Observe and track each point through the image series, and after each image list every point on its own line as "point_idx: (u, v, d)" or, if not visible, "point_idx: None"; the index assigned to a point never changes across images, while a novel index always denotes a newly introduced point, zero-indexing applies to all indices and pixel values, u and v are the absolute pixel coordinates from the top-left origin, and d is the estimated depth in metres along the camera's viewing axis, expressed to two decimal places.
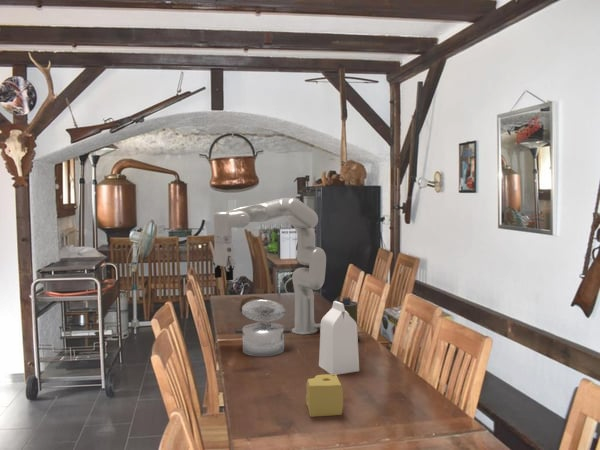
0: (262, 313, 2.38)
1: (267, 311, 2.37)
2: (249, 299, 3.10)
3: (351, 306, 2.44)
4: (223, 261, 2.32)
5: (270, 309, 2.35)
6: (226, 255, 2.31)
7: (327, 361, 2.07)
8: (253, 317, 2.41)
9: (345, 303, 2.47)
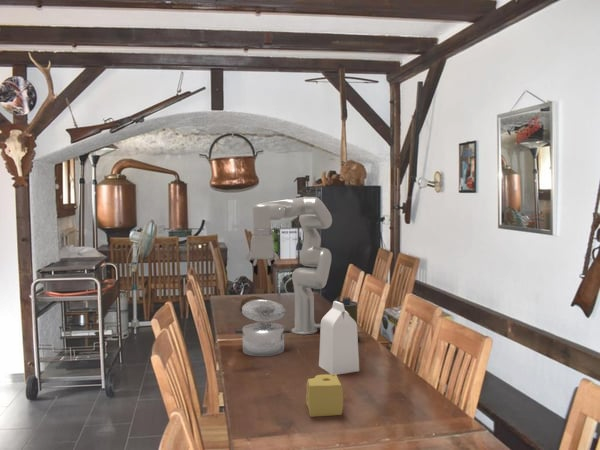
0: (262, 313, 2.38)
1: (267, 311, 2.37)
2: (249, 299, 3.10)
3: (351, 306, 2.44)
4: (270, 253, 2.32)
5: (270, 309, 2.35)
6: (273, 247, 2.32)
7: (327, 361, 2.07)
8: (253, 317, 2.41)
9: (345, 303, 2.47)
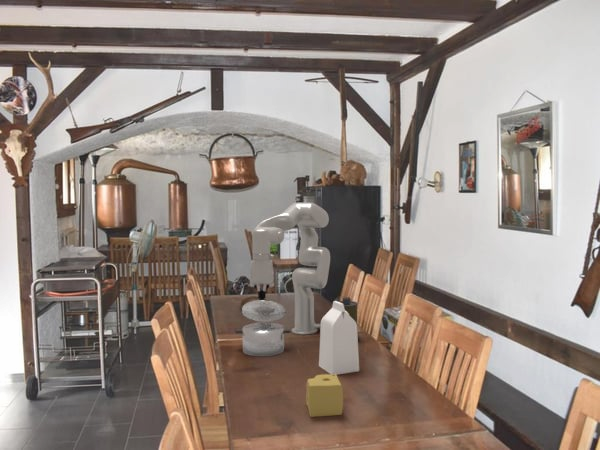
0: (262, 313, 2.38)
1: (267, 312, 2.37)
2: (249, 299, 3.10)
3: (351, 306, 2.44)
4: (269, 278, 2.29)
5: (270, 309, 2.35)
6: (272, 272, 2.29)
7: (327, 361, 2.07)
8: (253, 317, 2.41)
9: (345, 303, 2.47)
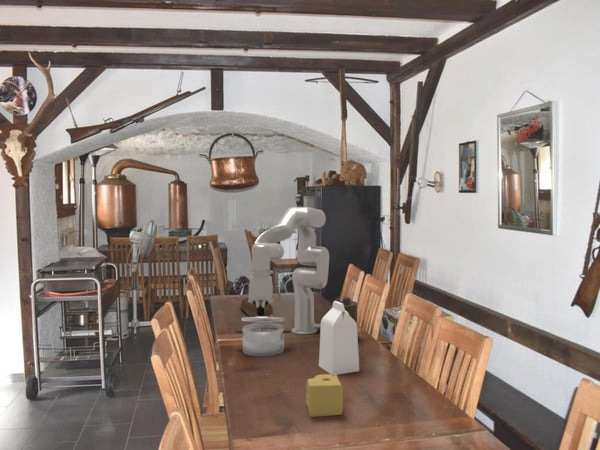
0: (262, 320, 2.37)
1: (267, 320, 2.35)
2: None
3: (351, 306, 2.44)
4: (268, 295, 2.27)
5: None
6: (271, 288, 2.27)
7: (327, 361, 2.07)
8: None
9: (345, 303, 2.47)
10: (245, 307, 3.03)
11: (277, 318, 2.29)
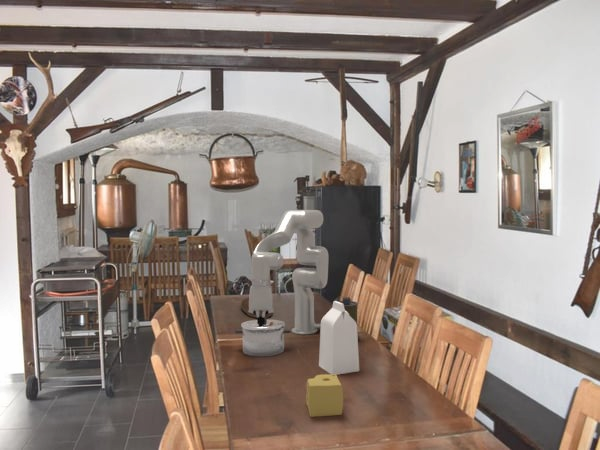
0: None
1: None
2: None
3: (351, 306, 2.44)
4: (269, 305, 2.27)
5: None
6: (272, 298, 2.27)
7: (327, 361, 2.07)
8: None
9: (345, 303, 2.47)
10: (245, 307, 3.03)
11: (277, 327, 2.28)
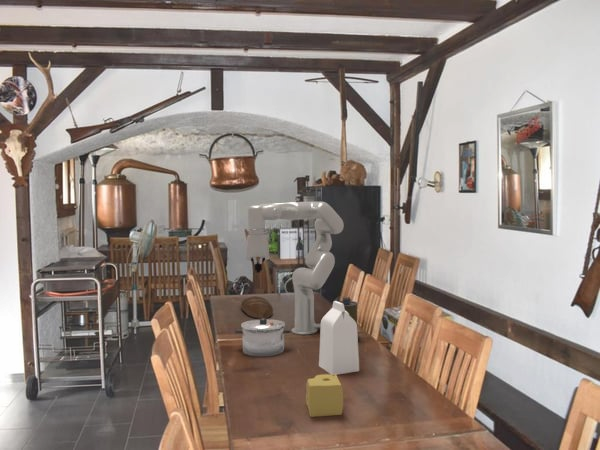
0: None
1: None
2: (249, 299, 3.10)
3: (351, 306, 2.44)
4: (265, 252, 2.44)
5: None
6: (268, 246, 2.45)
7: (327, 361, 2.07)
8: None
9: (345, 303, 2.47)
10: (245, 307, 3.03)
11: (277, 328, 2.28)
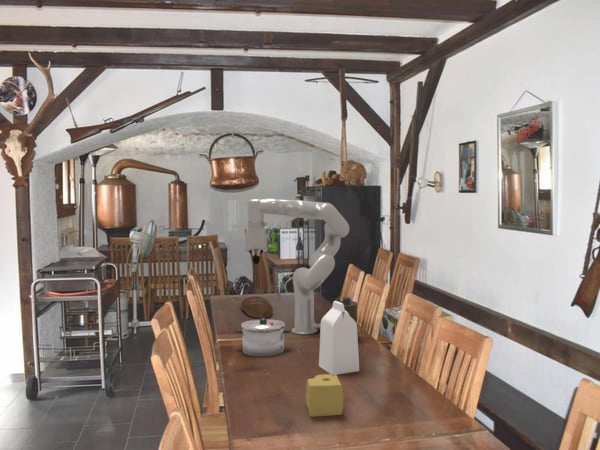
0: None
1: None
2: (250, 299, 3.10)
3: (351, 306, 2.44)
4: (263, 244, 2.52)
5: None
6: (266, 238, 2.52)
7: (327, 361, 2.07)
8: None
9: (345, 303, 2.47)
10: (245, 307, 3.03)
11: (277, 328, 2.28)
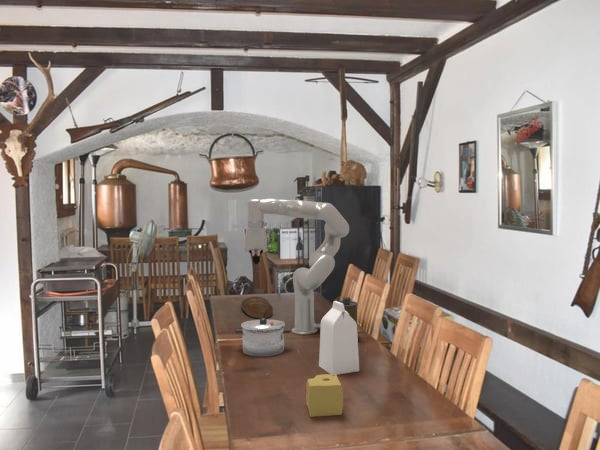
0: None
1: None
2: (250, 299, 3.10)
3: (351, 306, 2.44)
4: (263, 244, 2.52)
5: None
6: (266, 238, 2.52)
7: (327, 361, 2.07)
8: None
9: (345, 303, 2.47)
10: (245, 307, 3.03)
11: (277, 328, 2.28)
